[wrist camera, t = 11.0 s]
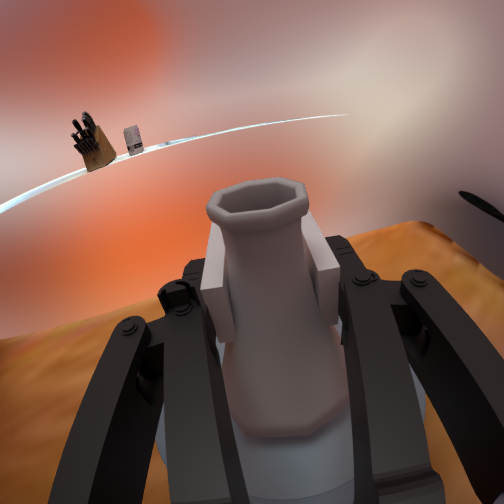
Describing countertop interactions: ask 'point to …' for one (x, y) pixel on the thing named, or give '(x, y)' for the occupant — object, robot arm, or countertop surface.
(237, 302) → the flask
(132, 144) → the supplement can
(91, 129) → the knife block
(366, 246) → the countertop surface
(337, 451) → the dish
